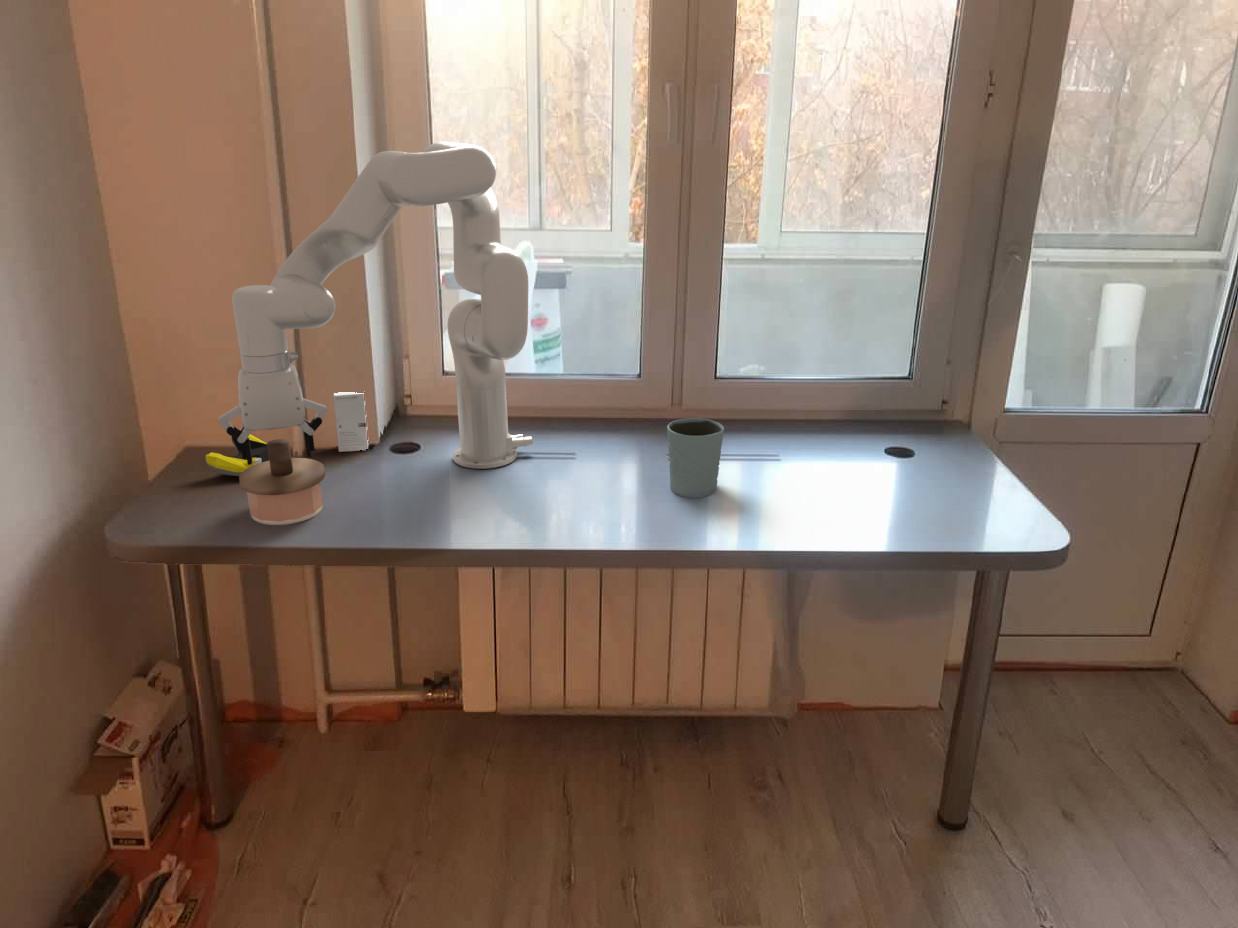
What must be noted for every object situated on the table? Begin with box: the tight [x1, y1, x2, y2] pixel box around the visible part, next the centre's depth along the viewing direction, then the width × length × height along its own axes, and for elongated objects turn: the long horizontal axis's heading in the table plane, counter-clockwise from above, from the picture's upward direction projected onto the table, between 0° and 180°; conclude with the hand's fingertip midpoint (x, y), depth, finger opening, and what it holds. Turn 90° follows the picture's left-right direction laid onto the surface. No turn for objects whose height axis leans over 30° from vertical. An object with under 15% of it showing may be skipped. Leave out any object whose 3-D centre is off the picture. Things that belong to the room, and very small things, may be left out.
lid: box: [238, 438, 326, 495], centre depth 166 cm, size 14×14×7 cm
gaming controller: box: [205, 433, 269, 477], centre depth 187 cm, size 15×6×10 cm
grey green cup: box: [666, 417, 725, 498], centre depth 176 cm, size 10×10×12 cm
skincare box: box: [333, 392, 369, 453], centre depth 196 cm, size 6×4×12 cm
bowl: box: [246, 482, 324, 526], centre depth 168 cm, size 12×12×6 cm
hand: (279, 458), depth 166 cm, fingers open, 9 cm apart
